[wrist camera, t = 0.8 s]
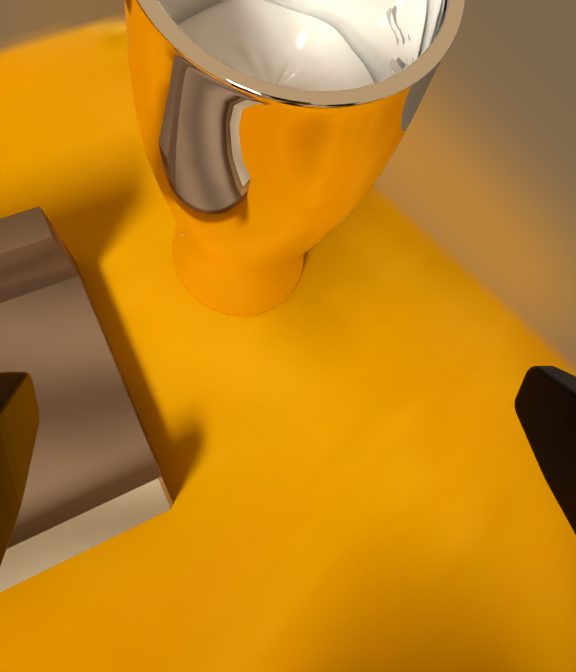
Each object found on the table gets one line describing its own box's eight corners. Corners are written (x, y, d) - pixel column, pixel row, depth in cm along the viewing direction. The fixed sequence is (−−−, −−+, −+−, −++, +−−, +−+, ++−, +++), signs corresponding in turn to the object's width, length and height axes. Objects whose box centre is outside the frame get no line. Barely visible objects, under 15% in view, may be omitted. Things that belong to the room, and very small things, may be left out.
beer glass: (267, 166, 25) (363, -223, 11) (337, 286, 24) (542, 44, 10) (136, 220, 23) (34, -158, 9) (207, 352, 22) (222, 175, 8)
